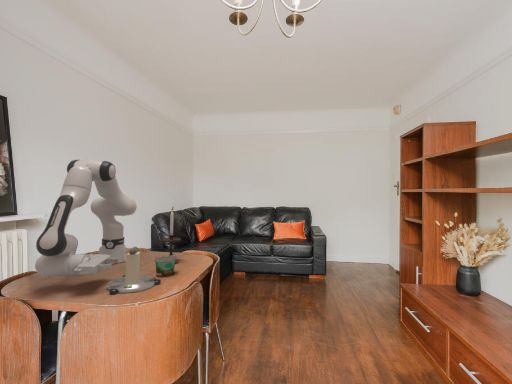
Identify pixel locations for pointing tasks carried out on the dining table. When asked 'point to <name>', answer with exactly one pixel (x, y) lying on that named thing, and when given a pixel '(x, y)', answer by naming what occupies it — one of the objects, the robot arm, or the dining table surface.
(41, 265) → the robot arm
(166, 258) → the food container
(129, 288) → the levelling base
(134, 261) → the cream bottle
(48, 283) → the dining table surface
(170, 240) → the candlestick
